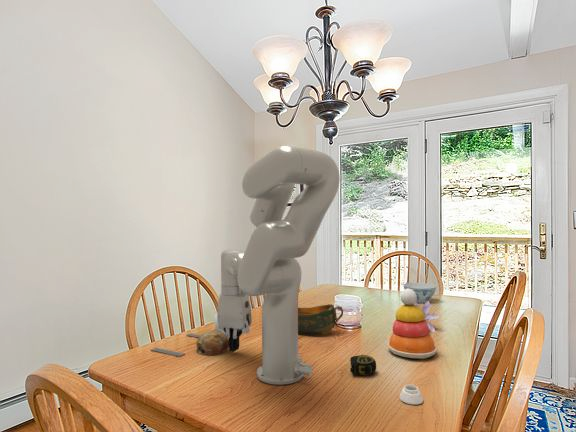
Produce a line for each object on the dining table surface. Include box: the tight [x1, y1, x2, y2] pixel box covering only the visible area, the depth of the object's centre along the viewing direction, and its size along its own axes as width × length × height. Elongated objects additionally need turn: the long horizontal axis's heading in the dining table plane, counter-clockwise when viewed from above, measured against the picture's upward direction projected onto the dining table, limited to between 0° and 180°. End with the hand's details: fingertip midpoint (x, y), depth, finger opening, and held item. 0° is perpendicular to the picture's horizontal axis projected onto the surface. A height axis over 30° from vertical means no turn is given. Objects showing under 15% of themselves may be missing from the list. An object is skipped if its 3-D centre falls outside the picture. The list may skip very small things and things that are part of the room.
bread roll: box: [195, 329, 229, 356], centre depth 115 cm, size 10×10×8 cm
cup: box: [214, 312, 226, 335], centre depth 131 cm, size 6×6×7 cm
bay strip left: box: [150, 347, 185, 358], centre depth 113 cm, size 12×2×1 cm, turn 63°
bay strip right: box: [186, 333, 201, 339], centre depth 127 cm, size 12×2×1 cm, turn 63°
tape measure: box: [349, 354, 377, 376], centre depth 97 cm, size 7×7×4 cm
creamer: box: [298, 303, 344, 337], centre depth 131 cm, size 13×20×10 cm, turn 50°
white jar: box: [398, 384, 424, 406], centre depth 82 cm, size 5×3×5 cm
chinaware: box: [403, 282, 437, 304], centre depth 178 cm, size 15×15×8 cm
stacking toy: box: [387, 289, 438, 360], centre depth 111 cm, size 14×14×20 cm
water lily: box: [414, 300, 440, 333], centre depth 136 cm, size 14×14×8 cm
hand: (233, 349), depth 111 cm, fingers closed
